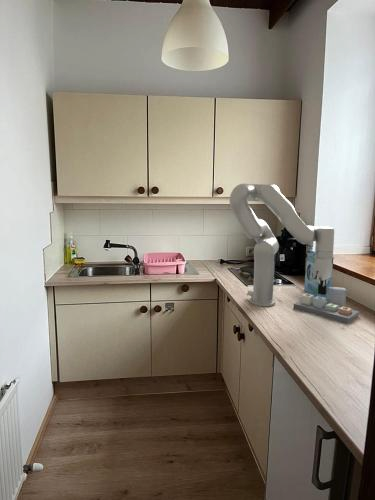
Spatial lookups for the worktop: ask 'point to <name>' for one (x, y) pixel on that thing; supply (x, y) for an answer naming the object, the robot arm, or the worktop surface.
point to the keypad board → (326, 312)
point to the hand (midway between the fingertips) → (321, 293)
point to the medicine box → (336, 296)
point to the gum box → (309, 281)
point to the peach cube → (345, 310)
